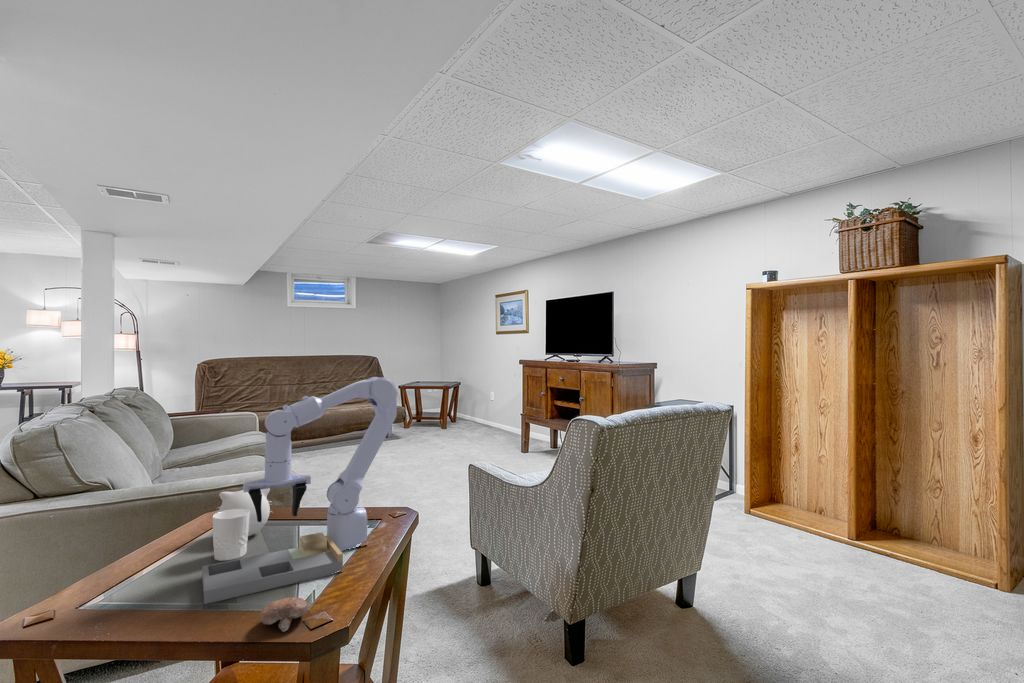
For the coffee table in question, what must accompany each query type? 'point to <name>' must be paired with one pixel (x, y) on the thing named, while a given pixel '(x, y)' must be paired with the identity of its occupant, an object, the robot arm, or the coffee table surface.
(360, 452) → the robot arm
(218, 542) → the white cup
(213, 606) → the coffee table surface
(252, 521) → the cat head
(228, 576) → the board
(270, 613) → the mushroom
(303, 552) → the maple block
